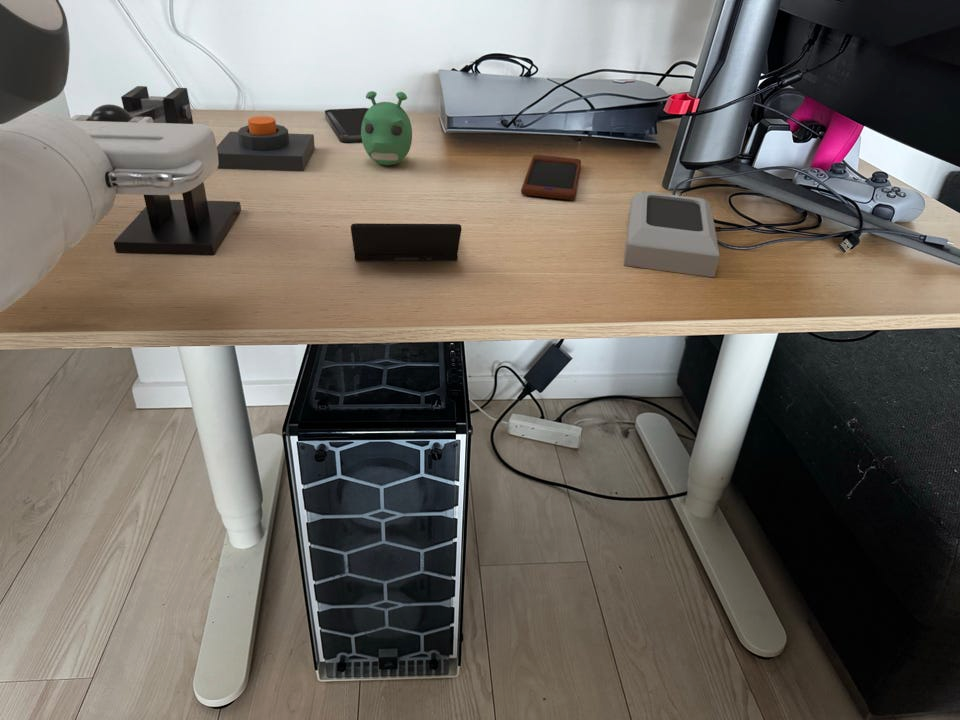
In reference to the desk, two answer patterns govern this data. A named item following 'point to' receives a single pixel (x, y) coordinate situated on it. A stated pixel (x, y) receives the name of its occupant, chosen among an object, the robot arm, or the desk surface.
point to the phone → (346, 123)
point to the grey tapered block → (671, 234)
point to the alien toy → (386, 131)
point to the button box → (265, 150)
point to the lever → (150, 108)
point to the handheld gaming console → (405, 241)
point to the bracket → (176, 203)
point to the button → (262, 125)
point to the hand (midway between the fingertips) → (117, 124)
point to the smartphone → (552, 177)
